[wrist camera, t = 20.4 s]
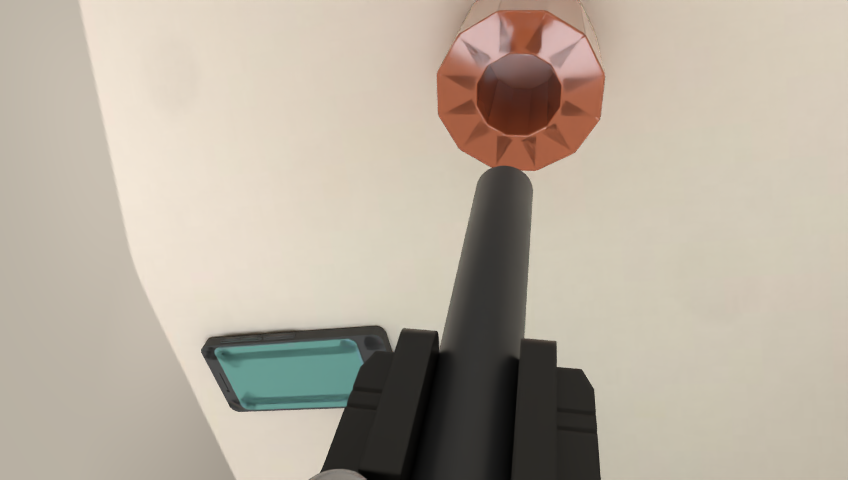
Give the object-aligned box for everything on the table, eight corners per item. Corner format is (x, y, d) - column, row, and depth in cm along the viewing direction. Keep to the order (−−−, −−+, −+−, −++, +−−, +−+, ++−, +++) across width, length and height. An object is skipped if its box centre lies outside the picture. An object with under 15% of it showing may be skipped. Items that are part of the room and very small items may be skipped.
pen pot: (456, -19, 32) (434, 11, 26) (601, -21, 30) (613, 9, 25) (458, 115, 35) (439, 167, 30) (587, 118, 34) (594, 173, 28)
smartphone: (403, 407, 47) (231, 414, 51) (407, 395, 48) (238, 402, 52) (378, 333, 44) (195, 346, 48) (383, 322, 45) (203, 335, 49)
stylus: (477, 158, 20) (377, 568, 8) (534, 159, 20) (509, 589, 8) (477, 207, 21) (387, 635, 9) (532, 209, 20) (505, 656, 9)
